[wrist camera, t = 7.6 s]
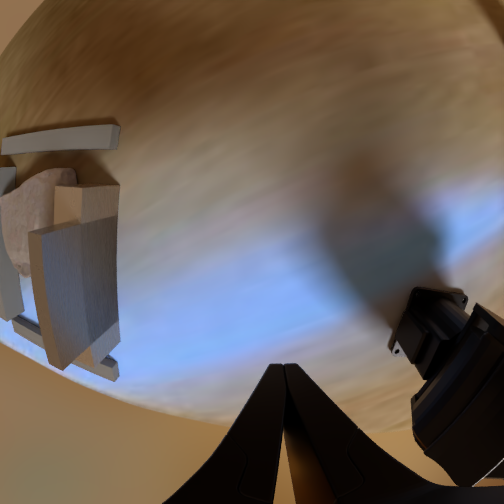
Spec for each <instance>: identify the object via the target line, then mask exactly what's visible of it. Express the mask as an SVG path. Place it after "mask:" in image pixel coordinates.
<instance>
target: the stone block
mask: <svg viewBox="0 0 504 504" xmlns="http://www.w3.org/2000/svg"><path fill="white" fill-rule="evenodd" d="M74 184H78V183H77V179H76V172H75V170H73V169H72V168H53V169H49V170H45V171H43V172H41V173H38V174H36V175H34V176H32V177H31V178H29V179H28V180H26V181H25V182H24V183H22V185H21V186H20V187H18V188H17V189H16V190H13V191H12V192H10V193H8V194H5V195H3V196H2V197H1V198H0V206H1V224H2V234H3V238H4V243H5V247H6V251H7V253H8V255H9V257H10V259H11V261H12V264H13V266H14V268H16V269H17V270H18V272H19V274H21V275H22V276H23V277H24V278H28V277H30V276H31V270H30V260H29V247H28V232H29V231H33V230H36V229H40V228H44V227H47V226H51V225H54V198H55V186H62V185H74Z"/></svg>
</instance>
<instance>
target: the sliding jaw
mask: <svg viewBox="0 0 504 504" xmlns="http://www.w3.org/2000/svg"><path fill="white" fill-rule="evenodd" d="M119 190H120V185H110V184H97V183H89V184H74V185H62V186H55V198H54V225H51V226H47V227H44V228H40V229H36V230H33V231H29V232H28V247H29V260H30V270H31V279H32V286H33V293H34V300H35V305H36V311H37V316H38V321H39V326H40V330H41V335H42V339H43V343H44V347H45V351H46V354H47V358H48V362H49V364H51V365H52V366H54V367H56V368H58V369H60V370H62V371H63V370H64V369H65V368H66V367H67V366H68V365H69V364H71V363H72V362H73V361H74V360H77V361H79V362H81V363H83V364H86V365H88V366H90V367H92V368H95V367H96V366H97V365H98V364H99V363H100V362H101V361H102V360H103V359H104V358H105V357H106V356H107V355H108V354H109V353H110V352H111V351H112V350H113V349H114V348H115V347H116V346H117V345H118V344H119V343H120V330H119V318H118V301H117V267H116V254H117V219H118V203H119Z"/></svg>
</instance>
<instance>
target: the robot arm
mask: <svg viewBox="0 0 504 504" xmlns="http://www.w3.org/2000/svg"><path fill="white" fill-rule="evenodd" d="M418 291H419V294H418V295H416V293H417V292H418ZM463 299H464V300H463ZM462 300H463V301H462ZM467 302H468V297H467V296H466V295H465V294H461V293H454V292H448V291H441V290H435V289H428V288H422V287H415V288H414V289H413V290H412V293H411V296H410V299H409V302H408V305H407V308H406V310H405V311H404V313H403V316H402V319H401V322H400V324H399V327H398V330H397V332H396V335H395V340H394V343H393V345H392V348H391V353H392V355H393V356H402V357H407V358H408V360H409V361H410V363H411V364H414V365H415V367H416V368H417V370H418V372H419V373H420V375H421V377H422V378H423V380H427V382H426V383H425V384H424V385H423V387H422V388H421V389H420V390H419V392H418V393H417V394H415V395H414V396H413V397H412V398H411V410H412V430H413V435H414V438H415V441H416V442H417V444H418V445H419V446H420V448H421V449H422V450H423V451H424V454H425V455H426V456H428V457H429V458H431V459H433V460H434V461H435V462H437V463H438V464H439V465H440V466H441V467H442V468H443V469H444V470H445V471H446V472H447V474H448V475H449V476H450V478H451V479H452V480H453V482H454V483H455V484H456V485H458V486H443V485H438V484H435V483H432V482H430V481H427V480H426V479H424V478H422V477H421V476H419V475H418V474H416V473H415V472H413V471H412V470H410V469H409V468H407V467H406V466H405V465H403V464H402V463H400V462H399V461H397V460H396V459H395V458H393V457H392V456H391V455H389V454H388V453H387V452H385V451H384V450H383V449H382V448H380V447H379V446H378V445H377V444H376V443H374V442H373V441H372V440H371V439H370V438H369V437H368V436H367V435H366V434H365V433H364V432H363V431H362V430H361V429H360V428H358V426H357V425H356V424H355V423H354V422H353V421H352V420H351V419H350V418H349V417H348V416H347V415H346V414H345V413H344V412H343V411H342V410H341V409H340V408H339V407H338V406H337V405H336V404H335V403H334V402H333V401H332V400H331V399H330V398H329V397H328V396H327V395H326V394H325V393H324V392H323V391H322V389H321V388H320V387H319V386H318V385H317V384H316V383H315V382H314V381H313V380H312V379H311V378H310V377H309V376H308V375H307V374H306V373H305V371H304V370H303V369H302V368H301V367H300V366H299V365H298V364H296V363H286V364H284V365H283V364H269V366H268V367H267V369H266V371H265V372H264V374H263V376H262V378H261V379H260V381H259V383H258V384H257V386H256V388H255V389H254V391H253V393H252V394H251V396H250V398H249V399H248V401H247V403H246V404H245V406H244V407H243V409H242V411H241V412H240V414H239V415H238V417H237V418H236V420H235V422H234V423H233V425H232V426H231V428H230V429H229V431H228V433H227V435H225V437H224V438H223V440H222V441H221V443H220V444H219V446H218V447H217V448H216V450H215V451H214V452H213V454H212V455H211V456H210V458H209V459H208V460H207V461H206V462H205V463H204V464H203V465H202V466H201V467H200V469H199V470H198V471H197V472H196V473H195V474H194V475H193V476H192V477H191V478H190V479H189V480H188V481H186V482H185V483H184V484H183V485H182V486H181V487H180V488H179V489H178V490H177V491H176V492H175V493H174V494H173V495H172V496H171V497H169V498H168V499H167V500H166V501H165V502H163V503H162V504H273V500H274V494H275V487H276V481H277V473H278V466H279V458H280V451H281V443H282V435H283V433H284V439H285V445H286V450H287V456H288V462H289V467H290V473H291V479H292V484H293V490H294V495H295V501H296V504H504V486H488V487H473V486H474V485H476V484H477V483H478V482H479V481H480V480H482V479H483V478H487V479H488V478H489V479H503V480H504V319H502V318H501V317H499V316H498V315H496V314H494V313H493V312H491V311H490V310H488V309H486V308H485V307H483V306H481V305H480V304H478V303H476V304H475V306H474V308H473V312H472V314H471V316H470V315H468V314H467V313H466V312H465V311H464V310H465V308H466V305H467ZM397 349H398V350H397ZM395 350H397V351H395Z"/></svg>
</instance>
